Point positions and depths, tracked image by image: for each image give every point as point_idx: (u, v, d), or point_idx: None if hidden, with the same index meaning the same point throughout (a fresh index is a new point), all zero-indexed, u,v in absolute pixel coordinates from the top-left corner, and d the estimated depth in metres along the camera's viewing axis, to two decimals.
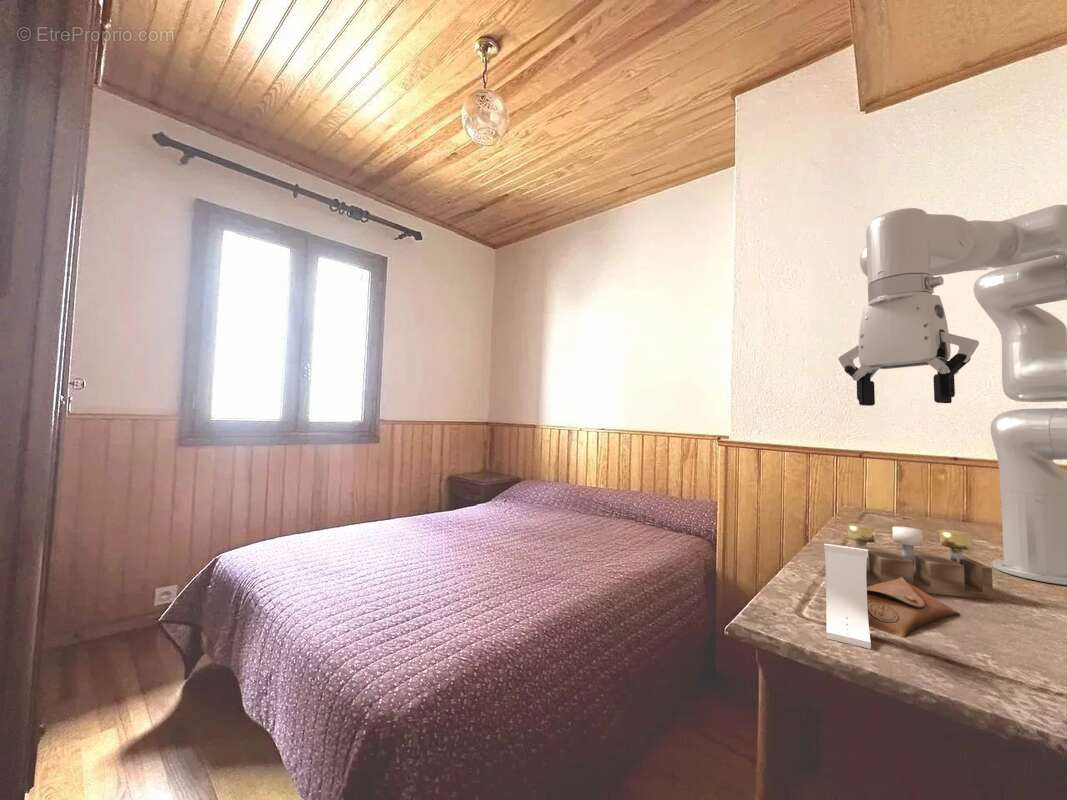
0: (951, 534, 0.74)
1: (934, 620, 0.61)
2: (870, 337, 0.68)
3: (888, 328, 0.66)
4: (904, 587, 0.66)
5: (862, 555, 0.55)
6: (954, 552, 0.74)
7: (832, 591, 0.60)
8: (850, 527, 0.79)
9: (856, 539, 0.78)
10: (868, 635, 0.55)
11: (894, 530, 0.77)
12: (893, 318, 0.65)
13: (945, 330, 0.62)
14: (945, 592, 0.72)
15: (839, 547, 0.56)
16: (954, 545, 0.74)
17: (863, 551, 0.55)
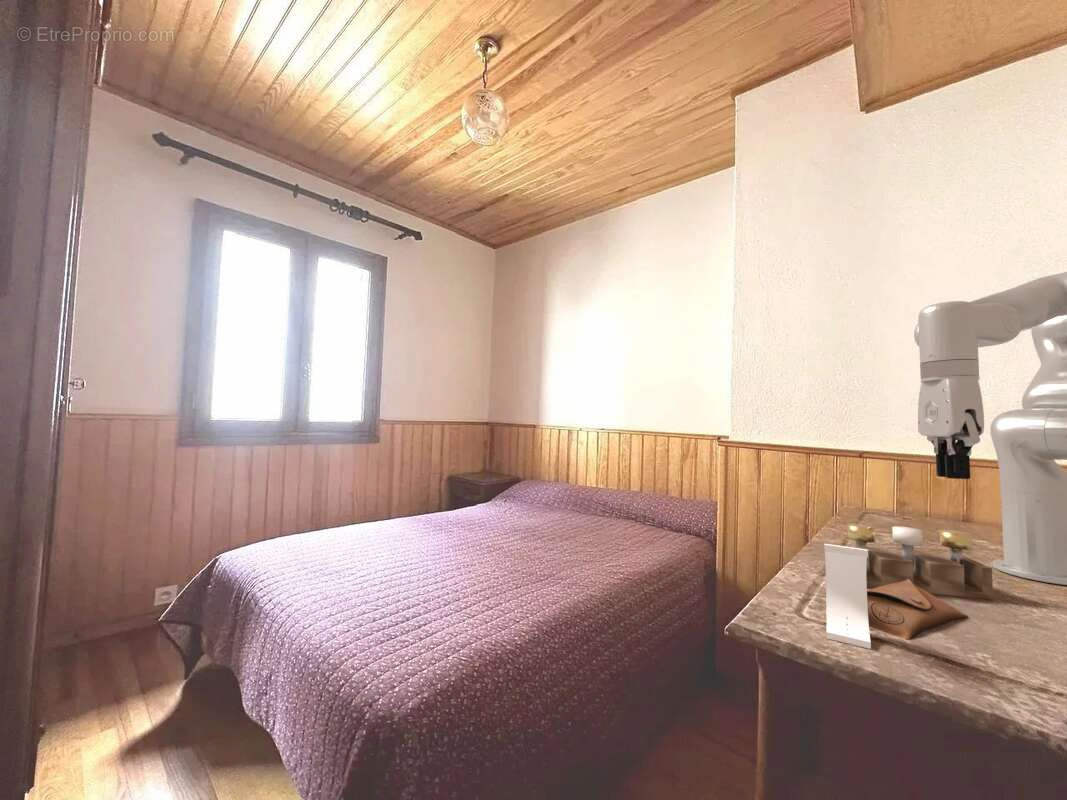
0: (951, 534, 0.74)
1: (941, 622, 0.61)
2: None
3: None
4: (910, 589, 0.65)
5: (862, 555, 0.55)
6: (954, 552, 0.74)
7: (832, 591, 0.60)
8: (850, 527, 0.79)
9: (856, 539, 0.78)
10: (868, 635, 0.55)
11: (894, 530, 0.77)
12: None
13: None
14: (945, 592, 0.72)
15: (839, 547, 0.56)
16: (954, 545, 0.74)
17: (863, 551, 0.55)
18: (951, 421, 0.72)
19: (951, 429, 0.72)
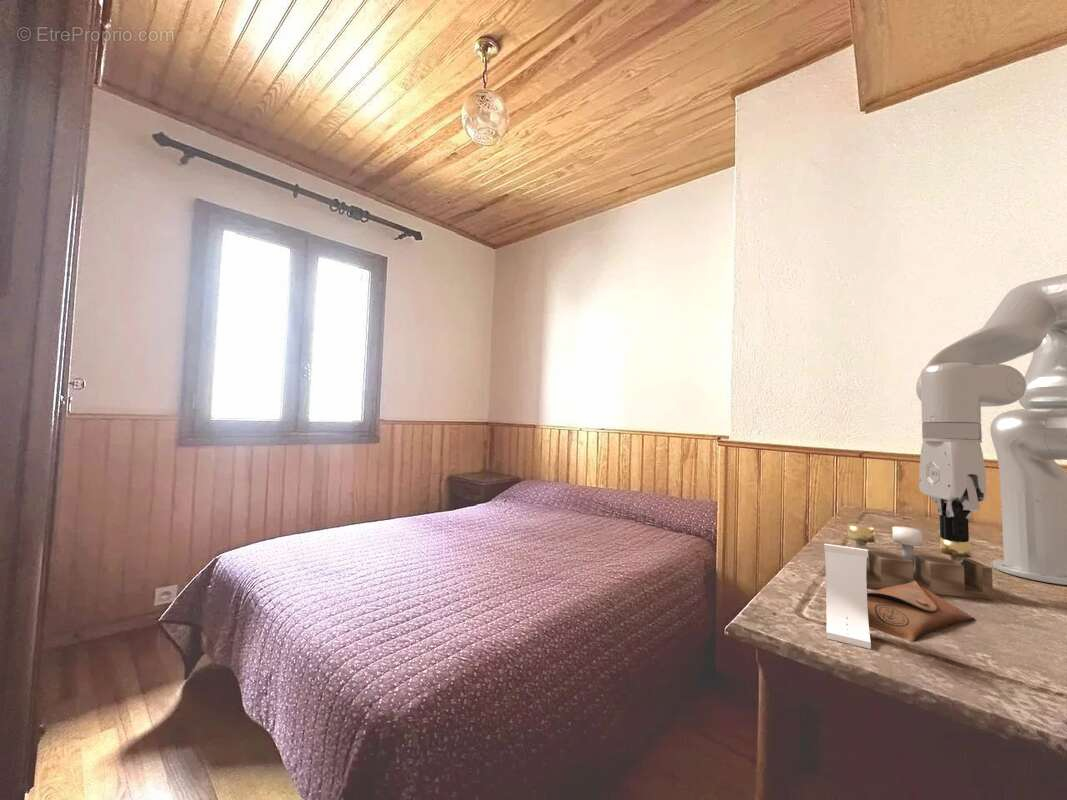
0: (951, 542, 0.74)
1: (947, 625, 0.60)
2: None
3: None
4: (916, 591, 0.64)
5: (862, 555, 0.55)
6: (954, 560, 0.74)
7: (832, 591, 0.60)
8: (850, 527, 0.79)
9: (856, 539, 0.78)
10: (868, 635, 0.55)
11: (894, 530, 0.77)
12: None
13: None
14: (945, 592, 0.72)
15: (839, 547, 0.56)
16: (954, 553, 0.73)
17: (863, 551, 0.55)
18: (953, 486, 0.71)
19: (953, 494, 0.71)
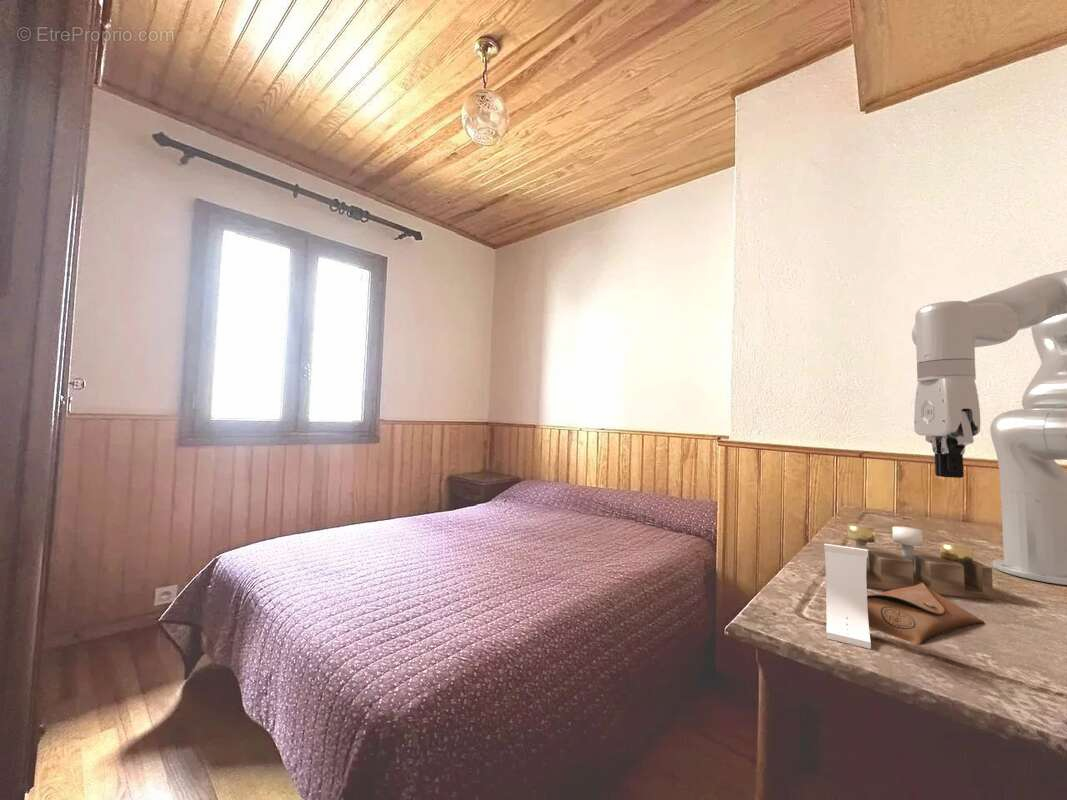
0: (952, 547, 0.74)
1: (955, 628, 0.59)
2: None
3: None
4: (924, 593, 0.63)
5: (862, 555, 0.55)
6: None
7: (832, 591, 0.60)
8: (850, 527, 0.79)
9: (856, 539, 0.78)
10: (868, 635, 0.55)
11: (894, 530, 0.77)
12: None
13: None
14: (945, 592, 0.72)
15: (839, 547, 0.56)
16: (955, 558, 0.73)
17: (863, 551, 0.55)
18: (947, 420, 0.72)
19: (947, 428, 0.72)
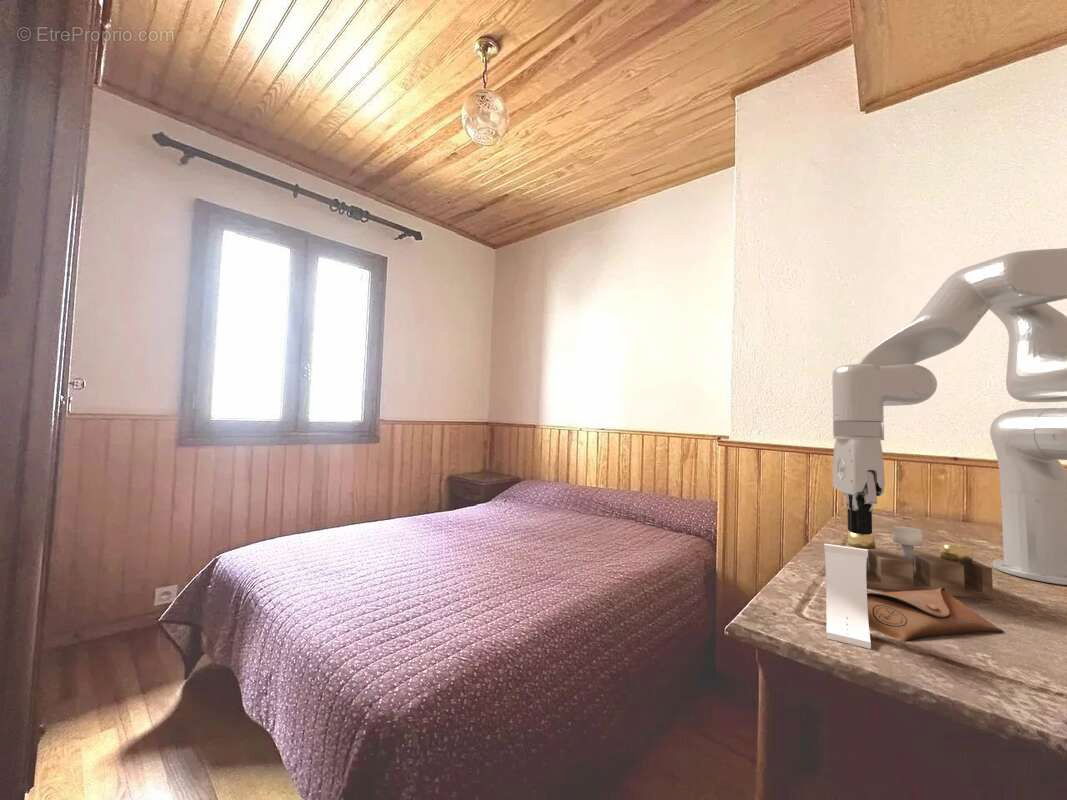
0: (952, 547, 0.74)
1: (959, 632, 0.58)
2: None
3: None
4: (933, 596, 0.62)
5: (862, 555, 0.55)
6: None
7: (832, 591, 0.60)
8: (850, 534, 0.79)
9: (856, 546, 0.78)
10: (868, 635, 0.55)
11: (894, 530, 0.77)
12: None
13: None
14: None
15: (839, 547, 0.56)
16: (955, 558, 0.73)
17: (863, 551, 0.55)
18: (854, 481, 0.75)
19: (854, 488, 0.75)
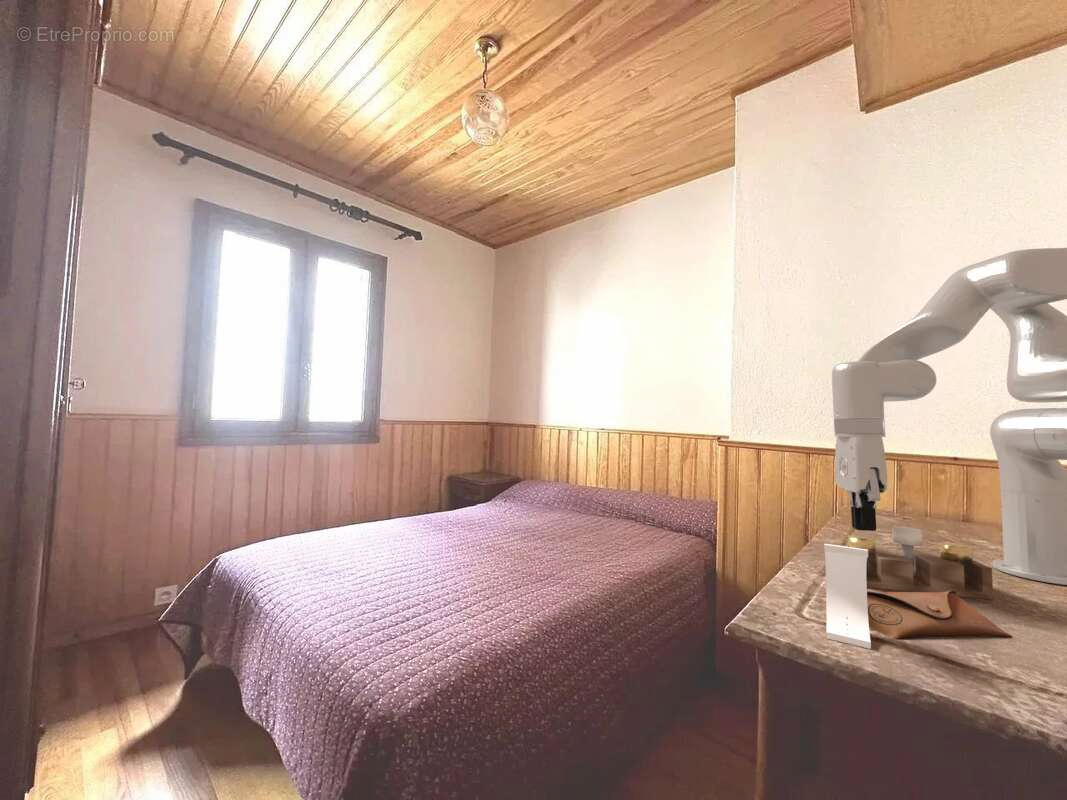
0: (952, 547, 0.74)
1: (960, 634, 0.57)
2: None
3: None
4: (938, 598, 0.61)
5: (862, 555, 0.55)
6: None
7: (832, 591, 0.60)
8: (850, 539, 0.79)
9: None
10: (868, 635, 0.55)
11: (894, 530, 0.77)
12: None
13: None
14: None
15: (839, 547, 0.56)
16: (955, 558, 0.73)
17: (863, 551, 0.55)
18: (857, 478, 0.75)
19: (857, 486, 0.75)
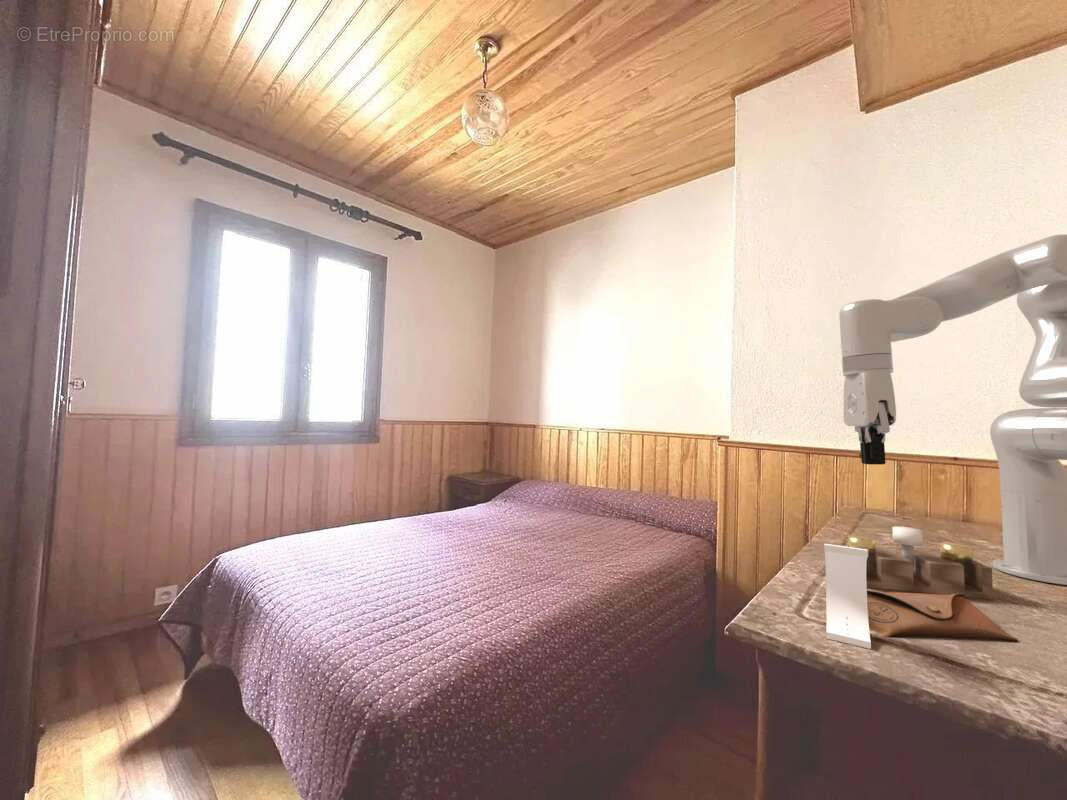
0: (952, 547, 0.74)
1: (960, 636, 0.57)
2: None
3: None
4: (941, 600, 0.61)
5: (862, 555, 0.55)
6: None
7: (832, 591, 0.60)
8: (850, 539, 0.79)
9: None
10: (868, 635, 0.55)
11: (894, 530, 0.77)
12: None
13: None
14: (945, 592, 0.72)
15: (839, 547, 0.56)
16: (955, 558, 0.73)
17: (863, 551, 0.55)
18: (866, 412, 0.77)
19: (867, 419, 0.77)
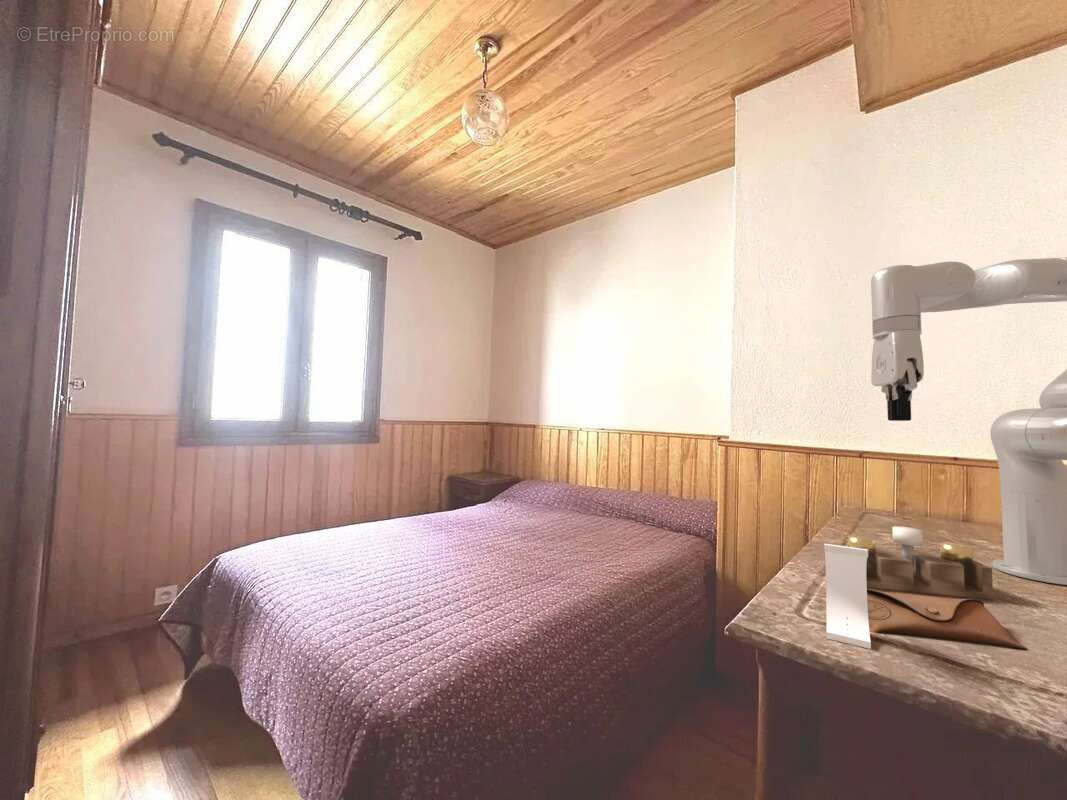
0: (952, 547, 0.74)
1: (957, 638, 0.56)
2: None
3: None
4: (946, 603, 0.60)
5: (862, 555, 0.55)
6: None
7: (832, 591, 0.60)
8: (850, 539, 0.79)
9: None
10: (868, 635, 0.55)
11: (894, 530, 0.77)
12: None
13: None
14: (945, 592, 0.72)
15: (839, 547, 0.56)
16: (955, 558, 0.73)
17: (863, 551, 0.55)
18: (895, 369, 0.82)
19: (895, 376, 0.82)
